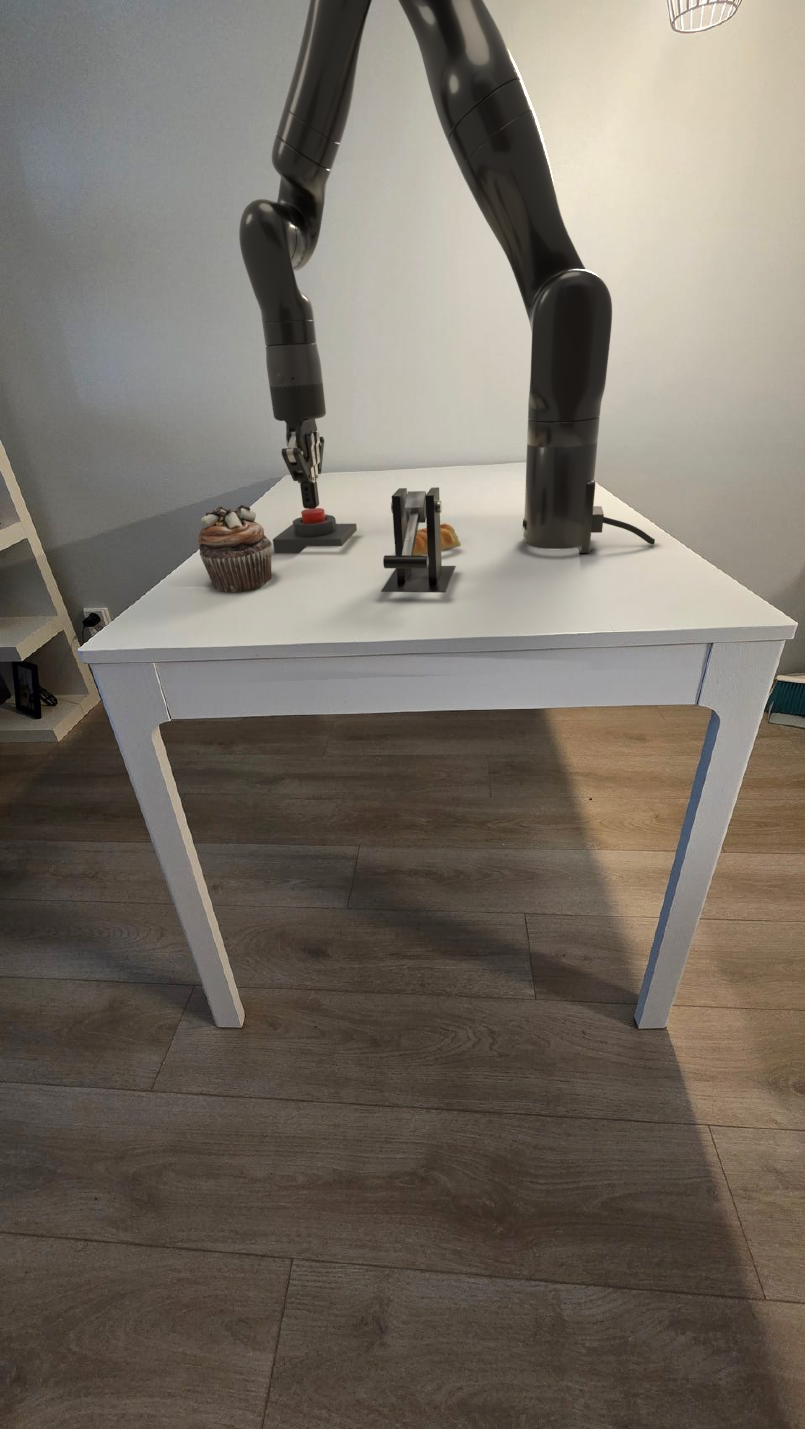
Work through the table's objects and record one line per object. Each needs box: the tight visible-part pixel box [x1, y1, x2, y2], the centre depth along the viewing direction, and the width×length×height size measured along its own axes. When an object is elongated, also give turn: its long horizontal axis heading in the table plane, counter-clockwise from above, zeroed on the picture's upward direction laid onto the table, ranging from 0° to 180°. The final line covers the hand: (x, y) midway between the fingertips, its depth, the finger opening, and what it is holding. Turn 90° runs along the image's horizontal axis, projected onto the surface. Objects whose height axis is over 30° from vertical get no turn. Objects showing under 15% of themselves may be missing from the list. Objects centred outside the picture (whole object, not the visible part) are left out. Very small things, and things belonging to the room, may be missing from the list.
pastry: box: [413, 523, 461, 555], centre depth 93 cm, size 9×7×4 cm
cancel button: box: [300, 507, 326, 523], centre depth 100 cm, size 4×4×2 cm
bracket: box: [380, 486, 457, 593], centre depth 79 cm, size 10×8×12 cm
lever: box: [382, 490, 429, 569], centre depth 75 cm, size 11×5×2 cm, turn 170°
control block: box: [272, 514, 358, 554], centre depth 101 cm, size 11×9×4 cm
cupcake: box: [197, 504, 273, 593], centre depth 86 cm, size 10×10×10 cm
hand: (311, 507), depth 99 cm, fingers closed
